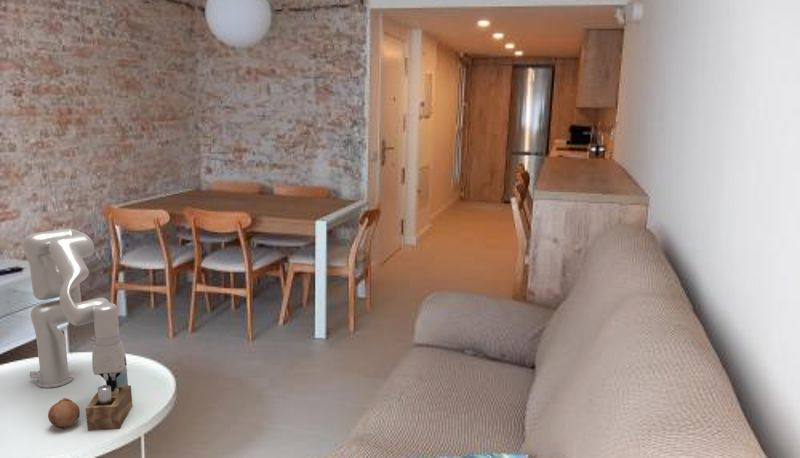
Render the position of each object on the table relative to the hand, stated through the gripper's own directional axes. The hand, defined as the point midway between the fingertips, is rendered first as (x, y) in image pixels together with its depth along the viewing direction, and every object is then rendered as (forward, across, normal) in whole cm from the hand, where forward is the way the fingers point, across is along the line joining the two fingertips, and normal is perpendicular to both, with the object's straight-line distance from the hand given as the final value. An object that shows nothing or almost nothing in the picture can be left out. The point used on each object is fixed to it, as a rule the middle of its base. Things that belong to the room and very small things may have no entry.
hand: (112, 389), depth 223 cm
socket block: (+8, 0, -4) cm, 9 cm away
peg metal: (+4, 0, -8) cm, 9 cm away
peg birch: (+8, 0, 0) cm, 8 cm away
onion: (+9, -13, -8) cm, 18 cm away
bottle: (+9, -3, +15) cm, 18 cm away
